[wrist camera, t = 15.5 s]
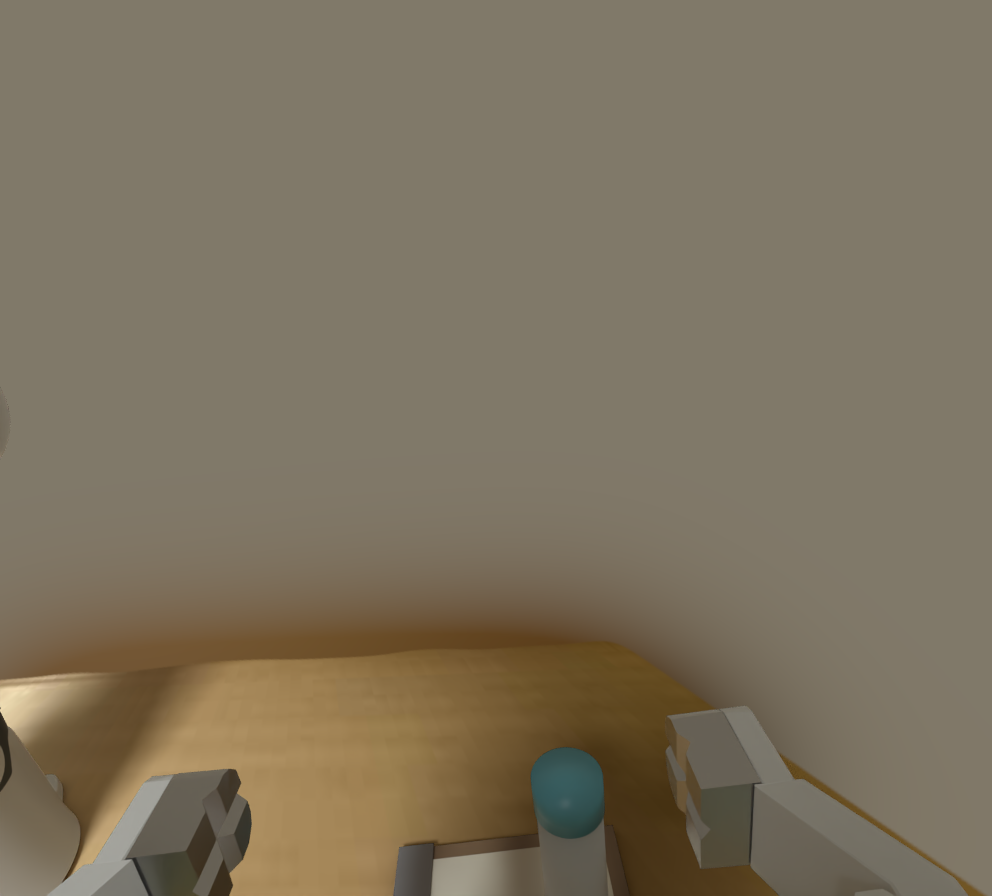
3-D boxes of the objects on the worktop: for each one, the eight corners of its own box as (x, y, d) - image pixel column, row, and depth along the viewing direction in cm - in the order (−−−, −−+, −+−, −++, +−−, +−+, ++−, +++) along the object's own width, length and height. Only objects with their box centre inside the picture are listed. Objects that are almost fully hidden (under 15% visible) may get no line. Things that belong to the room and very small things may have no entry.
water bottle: (553, 976, 32) (535, 813, 28) (543, 904, 35) (526, 752, 32) (620, 967, 32) (611, 803, 28) (603, 896, 35) (593, 743, 32)
